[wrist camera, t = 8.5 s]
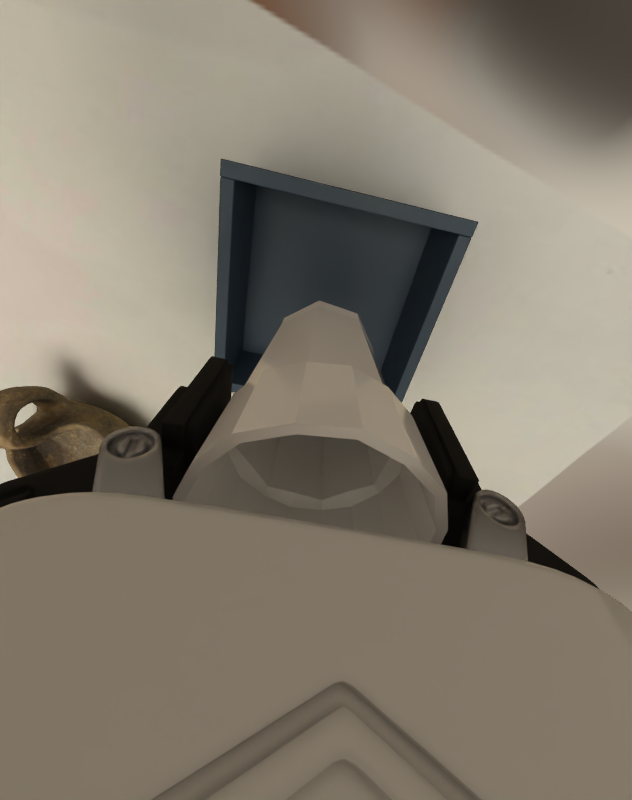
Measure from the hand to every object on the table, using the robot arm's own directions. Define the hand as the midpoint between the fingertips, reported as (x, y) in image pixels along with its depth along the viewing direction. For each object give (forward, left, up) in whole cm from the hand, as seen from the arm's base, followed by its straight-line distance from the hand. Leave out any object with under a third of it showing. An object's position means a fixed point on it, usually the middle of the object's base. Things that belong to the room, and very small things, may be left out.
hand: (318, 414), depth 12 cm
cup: (0, 0, -6) cm, 6 cm away
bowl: (+20, -22, -18) cm, 35 cm away
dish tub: (0, 0, -18) cm, 18 cm away
